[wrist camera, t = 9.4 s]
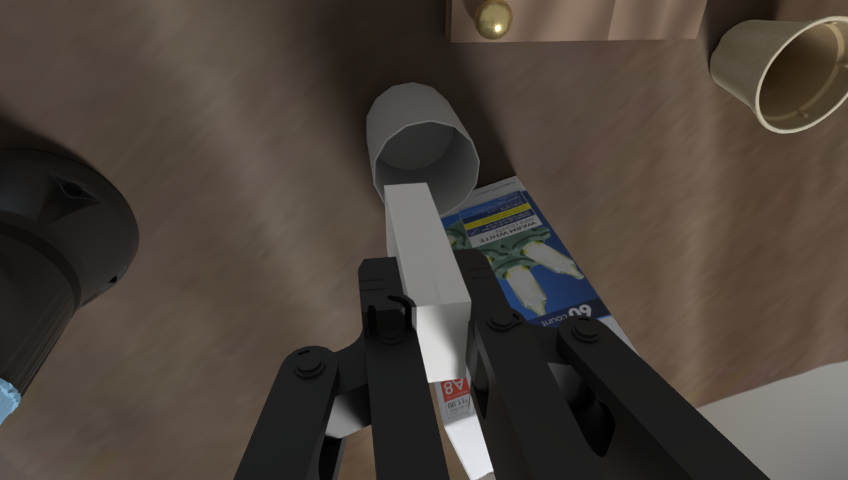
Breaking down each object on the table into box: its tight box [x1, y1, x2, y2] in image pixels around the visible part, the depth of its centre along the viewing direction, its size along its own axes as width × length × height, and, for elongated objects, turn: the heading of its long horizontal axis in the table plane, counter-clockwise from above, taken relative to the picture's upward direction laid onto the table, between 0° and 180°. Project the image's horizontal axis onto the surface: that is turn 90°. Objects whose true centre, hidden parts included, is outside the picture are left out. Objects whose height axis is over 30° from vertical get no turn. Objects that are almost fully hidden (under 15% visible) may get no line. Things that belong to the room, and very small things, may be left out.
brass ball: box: [474, 0, 513, 40], centre depth 39 cm, size 3×3×3 cm
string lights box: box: [434, 176, 639, 480], centre depth 43 cm, size 13×8×26 cm, turn 108°
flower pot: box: [710, 16, 848, 133], centre depth 44 cm, size 9×9×9 cm
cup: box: [366, 82, 480, 216], centre depth 42 cm, size 8×8×10 cm
